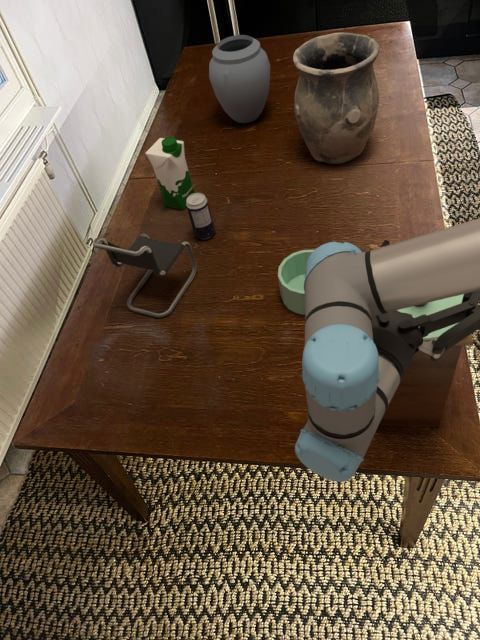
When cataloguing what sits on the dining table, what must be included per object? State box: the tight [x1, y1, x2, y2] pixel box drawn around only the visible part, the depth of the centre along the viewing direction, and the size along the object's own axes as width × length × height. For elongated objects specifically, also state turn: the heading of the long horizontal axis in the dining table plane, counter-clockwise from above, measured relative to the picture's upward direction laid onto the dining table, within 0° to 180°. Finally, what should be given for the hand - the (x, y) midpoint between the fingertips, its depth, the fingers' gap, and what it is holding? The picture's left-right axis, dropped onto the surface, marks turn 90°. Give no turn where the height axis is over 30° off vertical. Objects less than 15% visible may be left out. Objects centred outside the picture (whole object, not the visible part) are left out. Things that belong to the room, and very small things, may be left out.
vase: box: [208, 34, 271, 124], centre depth 169 cm, size 20×20×24 cm
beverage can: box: [186, 192, 216, 240], centre depth 138 cm, size 6×6×12 cm
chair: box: [92, 233, 197, 319], centre depth 124 cm, size 13×17×22 cm
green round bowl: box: [277, 249, 315, 316], centre depth 121 cm, size 14×14×8 cm
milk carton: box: [145, 136, 196, 211], centre depth 147 cm, size 9×9×20 cm
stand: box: [378, 333, 474, 428], centre depth 92 cm, size 14×14×28 cm
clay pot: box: [292, 31, 380, 165], centre depth 146 cm, size 22×23×30 cm
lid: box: [397, 294, 464, 341], centre depth 78 cm, size 15×15×10 cm
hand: (431, 258), depth 78 cm, fingers open, 13 cm apart
